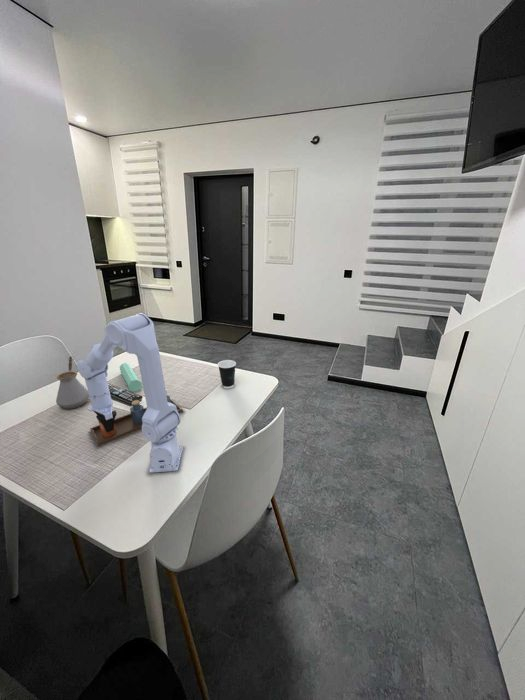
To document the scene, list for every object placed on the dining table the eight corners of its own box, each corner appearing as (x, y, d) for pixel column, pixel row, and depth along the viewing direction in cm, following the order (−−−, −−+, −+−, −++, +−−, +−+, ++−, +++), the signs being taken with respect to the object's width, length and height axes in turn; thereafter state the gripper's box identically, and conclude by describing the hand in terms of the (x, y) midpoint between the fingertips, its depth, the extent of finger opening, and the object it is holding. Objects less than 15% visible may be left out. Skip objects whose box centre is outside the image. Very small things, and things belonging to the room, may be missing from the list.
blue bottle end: (170, 413, 107) (167, 395, 104) (158, 414, 107) (155, 395, 104) (172, 406, 112) (170, 389, 108) (161, 407, 111) (158, 389, 108)
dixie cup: (235, 390, 124) (234, 367, 120) (217, 389, 125) (215, 367, 120) (238, 381, 131) (237, 360, 127) (221, 381, 132) (220, 359, 128)
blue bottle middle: (143, 424, 101) (140, 405, 98) (131, 425, 101) (126, 405, 98) (147, 416, 105) (143, 398, 102) (134, 417, 105) (131, 399, 102)
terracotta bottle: (113, 436, 95) (108, 416, 92) (99, 437, 95) (94, 417, 92) (118, 428, 99) (113, 408, 96) (105, 429, 99) (100, 409, 96)
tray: (171, 401, 116) (171, 398, 115) (183, 412, 109) (182, 409, 108) (91, 432, 98) (90, 428, 97) (98, 447, 91) (97, 443, 90)
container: (119, 360, 140) (129, 379, 120) (132, 361, 143) (143, 380, 124) (116, 371, 140) (126, 392, 121) (129, 372, 144) (140, 392, 125)
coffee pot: (90, 407, 112) (80, 373, 107) (55, 414, 108) (43, 379, 102) (94, 383, 130) (86, 353, 125) (64, 389, 126) (55, 358, 120)
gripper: (80, 387, 94) (89, 422, 99) (90, 406, 84) (100, 443, 89) (103, 381, 98) (111, 414, 103) (116, 398, 88) (124, 433, 93)
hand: (108, 427), depth 96 cm, fingers closed on terracotta bottle, 4 cm apart
